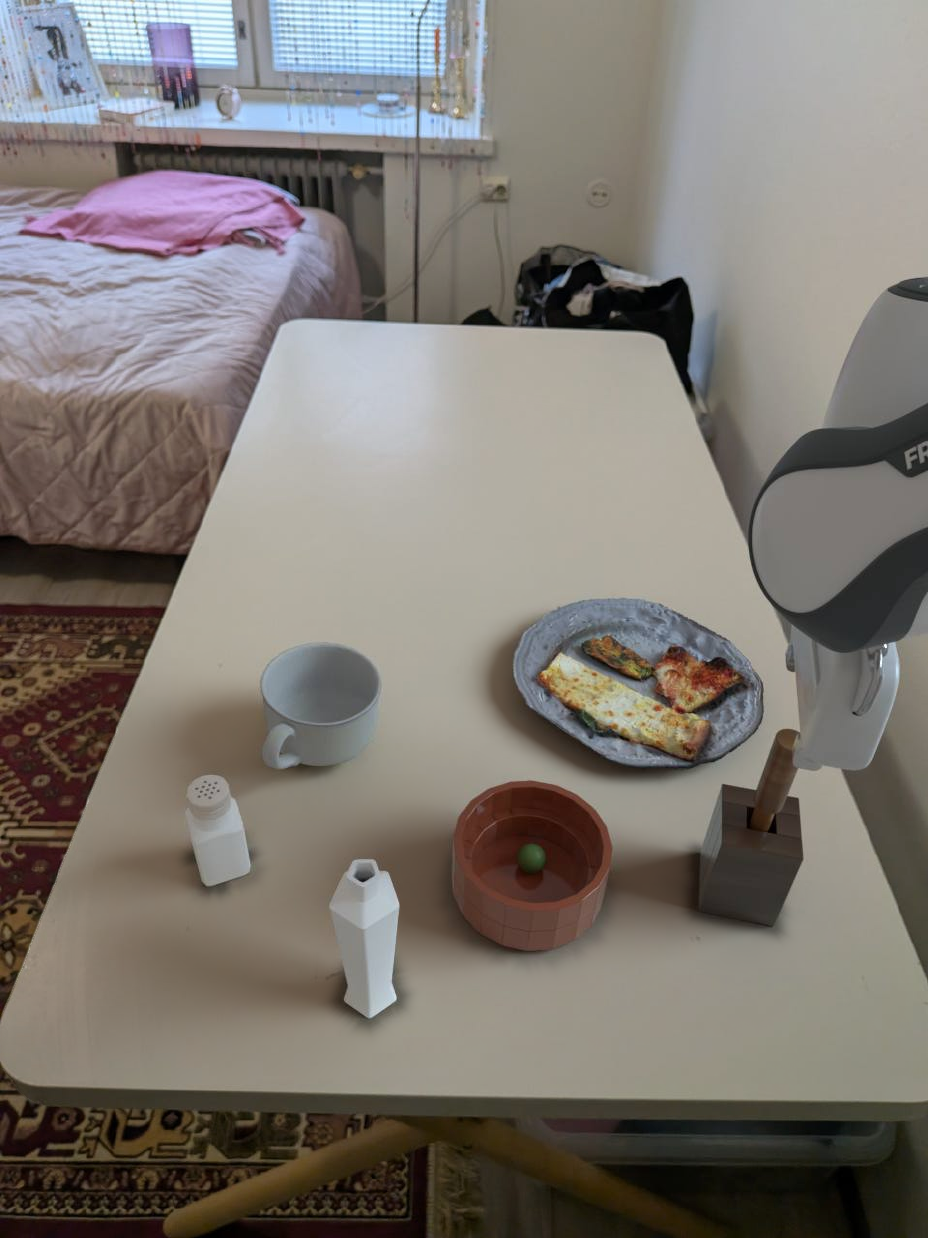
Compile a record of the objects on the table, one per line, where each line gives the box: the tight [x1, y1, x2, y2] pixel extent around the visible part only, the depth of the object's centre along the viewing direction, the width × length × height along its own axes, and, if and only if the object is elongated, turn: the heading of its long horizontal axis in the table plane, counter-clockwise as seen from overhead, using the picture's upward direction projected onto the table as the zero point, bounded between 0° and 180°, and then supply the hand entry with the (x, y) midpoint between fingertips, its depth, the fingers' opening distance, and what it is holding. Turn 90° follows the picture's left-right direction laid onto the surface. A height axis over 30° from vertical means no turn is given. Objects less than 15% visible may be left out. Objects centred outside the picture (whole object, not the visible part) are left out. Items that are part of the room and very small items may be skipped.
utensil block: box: [698, 783, 805, 927], centre depth 74 cm, size 6×6×9 cm
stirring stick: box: [747, 728, 800, 833], centre depth 71 cm, size 2×2×18 cm
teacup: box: [259, 641, 382, 770], centre depth 85 cm, size 14×11×8 cm
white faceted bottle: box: [329, 858, 400, 1019], centre depth 64 cm, size 5×4×15 cm
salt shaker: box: [184, 774, 252, 887], centre depth 74 cm, size 4×4×10 cm
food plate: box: [512, 597, 765, 770], centre depth 94 cm, size 25×23×4 cm
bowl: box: [451, 780, 614, 952], centre depth 75 cm, size 12×12×6 cm
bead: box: [517, 843, 546, 873], centre depth 77 cm, size 2×2×2 cm
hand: (800, 711), depth 64 cm, fingers open, 8 cm apart
